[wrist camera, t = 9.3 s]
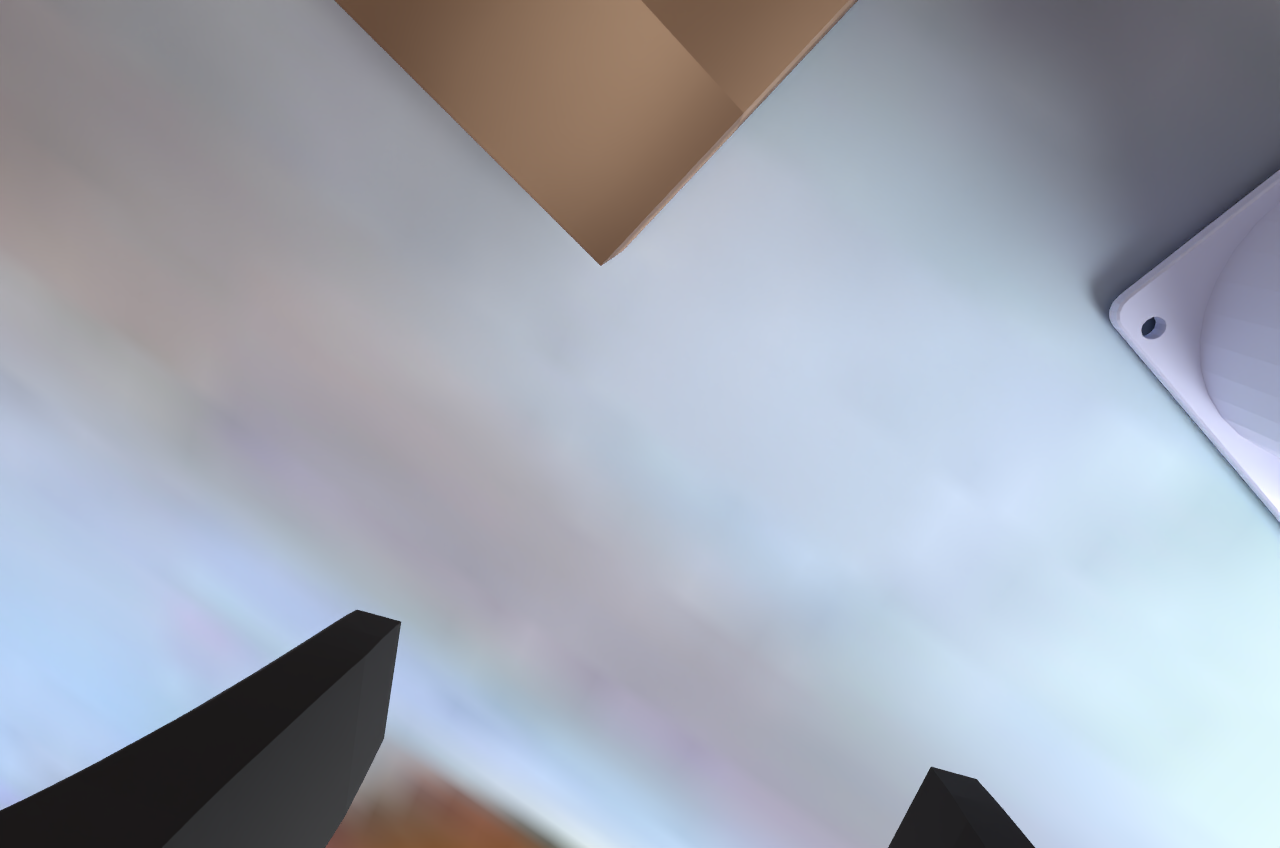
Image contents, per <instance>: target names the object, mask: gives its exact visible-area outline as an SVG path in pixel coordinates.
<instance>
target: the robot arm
mask: <svg viewBox="0 0 1280 848" xmlns="http://www.w3.org/2000/svg"><path fill="white" fill-rule="evenodd" d="M1152 317H1154V319H1155V321H1156V323H1155V328H1154V329H1153V330H1152V331H1151V333H1149V334H1147V335H1145V336H1143V335H1142V332H1141V329H1142V325H1143V324H1144V323H1145V322H1146V320H1148V319H1150V318H1152ZM1109 319H1110V321H1111V323H1112V325H1113V326H1114V327H1115V328H1116V330H1117V331H1118V332H1119V333H1120V334H1121V336H1122V337H1123V338H1124V339H1125V340H1126V341H1127V343H1128V344H1129V345H1130V346H1131V347H1132V349H1133V350H1134V351H1135V352H1136V353H1137V354H1138V356H1139V357H1140V358H1141V359H1142V360H1143V362H1144V363H1145V364H1146V365H1147V366H1148V367H1149V369H1150V370H1151V371H1152V372H1153V373H1154V374H1155V376H1156V377H1157V378H1158V379H1159V380H1160V382H1161V383H1162V384H1163V385H1164V386H1165V387H1166V389H1167V390H1168V391H1169V392H1170V393H1171V395H1172V396H1173V397H1174V398H1175V399H1176V400H1177V402H1178V403H1179V404H1180V405H1181V406H1182V408H1183V409H1184V410H1185V411H1186V412H1187V413H1188V415H1189V416H1190V417H1191V418H1192V419H1193V420H1194V422H1195V423H1196V424H1197V425H1198V426H1199V428H1200V429H1201V430H1202V431H1203V432H1204V433H1205V435H1206V436H1207V437H1208V438H1209V439H1210V441H1211V442H1212V443H1213V444H1214V445H1215V446H1216V448H1217V449H1218V450H1219V451H1220V452H1221V454H1222V455H1223V456H1224V457H1225V458H1226V459H1227V461H1228V462H1229V463H1230V464H1231V465H1232V466H1233V468H1234V469H1235V470H1236V471H1237V472H1238V474H1239V475H1240V476H1241V477H1242V478H1243V479H1244V481H1245V482H1246V483H1247V484H1248V485H1249V487H1250V488H1251V489H1252V490H1253V491H1254V492H1255V494H1256V495H1257V496H1258V497H1259V498H1260V499H1261V501H1262V502H1263V503H1264V504H1265V505H1266V507H1267V508H1268V509H1269V510H1270V511H1271V512H1272V514H1273V515H1274V516H1275V517H1276V518H1277V520H1278V521H1279V522H1280V170H1278V171H1277V172H1276V173H1275V174H1273V175H1272V176H1271V177H1269V178H1268V179H1267V180H1266V181H1264V182H1263V183H1262V184H1261V185H1259V186H1258V187H1257V188H1255V189H1254V190H1253V191H1252V192H1250V193H1249V194H1248V195H1247V196H1245V197H1244V198H1243V199H1241V200H1240V201H1239V202H1238V203H1236V204H1235V205H1234V206H1232V207H1231V208H1230V209H1229V210H1227V211H1226V212H1225V213H1224V214H1222V215H1221V216H1220V217H1218V218H1217V219H1216V220H1215V221H1213V222H1212V223H1211V224H1210V225H1208V226H1207V227H1206V228H1204V229H1203V230H1202V231H1201V232H1199V233H1198V234H1197V235H1195V236H1194V237H1193V238H1192V239H1190V240H1189V241H1188V242H1187V243H1185V244H1184V245H1183V246H1181V247H1180V248H1179V249H1178V250H1176V251H1175V252H1174V253H1172V254H1171V255H1170V256H1169V257H1167V258H1166V259H1165V260H1164V261H1162V262H1161V263H1160V264H1158V265H1157V266H1156V267H1155V268H1153V269H1152V270H1151V271H1150V272H1148V273H1147V274H1146V275H1144V276H1143V277H1142V278H1141V279H1139V280H1138V281H1137V282H1135V283H1134V284H1133V285H1132V286H1130V287H1129V288H1128V289H1127V290H1125V291H1124V292H1123V293H1121V294H1120V295H1119V296H1118V297H1117V298H1116V299H1115V300H1114V301H1113V303H1112V305H1111V308H1110V310H1109ZM400 626H401V622H400V621H397V620H393V619H389V618H386V617H382V616H378V615H375V614H371V613H368V612H364V611H360V610H355V611H353V612H352V613H350V614H348V615H346V616H345V617H343V618H341V619H340V620H338V621H336V622H335V623H333V624H332V625H330V626H329V627H327V628H325V629H324V630H322V631H321V632H319V633H317V634H316V635H314V636H313V637H311V638H310V639H308V640H306V641H305V642H303V643H302V644H300V645H299V646H297V647H295V648H294V649H292V650H291V651H289V652H287V653H286V654H284V655H283V656H281V657H279V658H278V659H276V660H275V661H273V662H271V663H270V664H268V665H267V666H265V667H263V668H262V669H260V670H259V671H257V672H255V673H254V674H252V675H250V676H249V677H247V678H245V679H244V680H242V681H240V682H239V683H237V684H235V685H233V686H232V687H230V688H228V689H227V690H225V691H223V692H222V693H220V694H218V695H217V696H215V697H213V698H212V699H210V700H208V701H207V702H205V703H203V704H202V705H200V706H198V707H197V708H195V709H193V710H191V711H190V712H188V713H186V714H184V715H183V716H181V717H179V718H177V719H176V720H174V721H172V722H170V723H168V724H167V725H165V726H163V727H161V728H159V729H157V730H156V731H154V732H152V733H150V734H148V735H146V736H145V737H143V738H141V739H139V740H137V741H135V742H134V743H132V744H130V745H128V746H126V747H124V748H123V749H121V750H119V751H117V752H115V753H113V754H112V755H110V756H108V757H106V758H104V759H102V760H101V761H99V762H97V763H95V764H93V765H91V766H89V767H87V768H85V769H83V770H81V771H80V772H78V773H76V774H74V775H72V776H70V777H68V778H66V779H64V780H62V781H60V782H58V783H56V784H54V785H52V786H50V787H48V788H46V789H44V790H42V791H40V792H38V793H36V794H34V795H32V796H30V797H28V798H26V799H24V800H22V801H20V802H17V803H15V804H13V805H11V806H9V807H7V808H5V809H3V810H1V811H0V848H325V847H326V845H327V844H328V842H329V841H330V839H331V838H332V836H333V834H334V833H335V831H336V830H337V828H338V826H339V825H340V823H341V822H342V820H343V818H344V817H345V815H346V813H347V811H348V809H349V807H350V805H351V803H352V801H353V799H354V797H355V795H356V793H357V792H358V790H359V788H360V786H361V784H362V782H363V780H364V778H365V776H366V774H367V772H368V770H369V768H370V766H371V764H372V762H373V760H374V757H375V755H376V753H377V751H378V749H379V747H380V745H381V743H382V741H383V739H384V734H385V727H386V720H387V714H388V707H389V700H390V693H391V687H392V680H393V673H394V666H395V660H396V653H397V646H398V639H399V633H400ZM888 848H1035V847H1034V846H1033V845H1032V843H1031V842H1030V841H1029V840H1028V839H1027V837H1026V836H1025V835H1024V834H1023V833H1022V831H1021V830H1020V829H1019V828H1018V827H1017V825H1016V824H1015V823H1014V822H1013V820H1012V819H1011V818H1010V817H1009V816H1008V815H1007V813H1006V812H1005V811H1004V810H1003V809H1002V807H1001V806H1000V805H999V804H998V803H997V802H996V800H995V799H994V798H993V797H992V796H991V795H990V794H989V793H988V791H987V790H986V789H985V788H984V787H983V786H982V785H981V784H980V783H979V781H978V780H977V779H974V778H970V777H967V776H963V775H959V774H956V773H952V772H948V771H945V770H941V769H938V768H934V767H931V768H930V769H929V771H928V773H927V775H926V777H925V779H924V781H923V783H922V785H921V786H920V788H919V790H918V792H917V794H916V796H915V798H914V800H913V802H912V804H911V805H910V807H909V809H908V811H907V813H906V815H905V817H904V819H903V821H902V822H901V824H900V826H899V828H898V830H897V832H896V834H895V836H894V838H893V839H892V841H891V843H890V845H889V847H888Z"/></svg>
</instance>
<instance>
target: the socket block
mask: <svg viewBox="0 0 1280 848" xmlns="http://www.w3.org/2000/svg"><path fill="white" fill-rule="evenodd" d="M335 1H336V2H337V3H338V4H339V5H340V6H341V7H342V8H343V9H344V10H345V11H346V12H347V13H348V14H349V15H350V16H351V17H352V18H353V19H354V20H355V21H356V22H357V23H358V24H359V25H360V26H361V27H362V28H363V29H364V30H365V31H366V32H367V33H368V34H369V35H370V36H371V37H372V38H373V39H374V40H375V41H376V42H377V43H378V44H379V45H380V46H381V47H382V48H383V49H384V50H385V51H386V52H387V53H388V54H389V55H390V56H391V57H392V58H393V59H394V60H395V61H396V62H397V63H398V64H399V65H400V66H401V67H402V68H403V69H404V70H405V71H406V72H407V73H408V74H409V75H410V76H411V77H412V78H413V79H414V80H415V81H416V82H417V83H418V84H419V85H420V86H421V87H422V88H423V89H424V90H425V91H426V92H427V93H428V94H429V95H430V96H431V97H432V98H433V99H434V100H435V101H436V102H437V103H438V104H439V105H440V106H441V107H442V108H443V109H444V110H445V111H446V112H447V113H448V114H449V115H450V116H451V117H452V118H453V119H454V120H455V121H456V122H457V123H458V124H459V125H460V126H461V127H462V128H463V129H464V130H465V131H466V132H467V133H468V134H469V135H470V136H471V137H472V138H473V139H474V140H475V141H476V142H477V143H478V144H479V145H480V146H481V147H482V148H483V149H484V150H485V151H486V152H487V153H488V154H489V155H490V156H491V157H492V158H493V159H494V160H495V161H496V162H497V163H498V164H499V165H500V166H501V167H502V168H503V169H504V170H505V171H506V172H507V173H508V174H509V175H510V176H511V177H512V178H513V179H514V180H515V181H516V182H517V183H518V184H519V185H520V186H521V187H522V188H523V189H524V190H525V191H526V192H527V193H528V194H529V195H530V196H531V197H532V198H533V199H534V200H535V201H536V202H537V203H538V204H539V205H540V206H541V207H542V208H543V209H544V210H545V211H546V212H547V213H548V214H549V215H550V216H551V217H552V218H553V219H554V220H555V221H556V222H557V223H558V224H559V225H560V226H561V227H562V228H563V229H564V230H565V231H566V232H567V233H568V234H569V235H570V236H571V237H572V238H573V239H574V240H575V241H576V242H577V243H578V244H579V245H580V246H581V247H582V248H583V249H584V250H585V251H586V252H587V253H588V254H589V255H590V256H591V257H592V258H593V259H594V260H595V261H596V262H597V263H598V264H599V265H600V266H601V265H603V264H604V263H606V262H607V261H609V260H610V259H612V258H613V257H614V256H616V255H617V254H619V253H620V252H622V251H623V250H624V249H625V248H626V247H627V246H628V245H629V244H630V242H631V241H632V240H633V239H634V238H635V237H636V236H637V235H638V234H639V233H640V232H641V231H642V230H643V229H644V228H645V226H646V225H647V224H648V223H649V222H650V221H651V220H652V219H653V218H654V217H655V216H656V215H657V214H658V213H659V212H660V211H661V209H662V208H663V207H664V206H665V205H666V204H667V203H668V202H669V201H670V200H671V199H672V198H673V197H674V196H675V195H676V193H677V192H678V191H679V190H680V189H681V188H682V187H683V186H684V185H685V184H686V183H687V182H688V181H689V180H690V179H691V177H692V176H693V175H694V174H695V173H696V172H697V171H698V170H699V169H700V168H701V167H702V166H703V165H704V164H705V163H706V162H707V160H708V159H709V158H710V157H711V156H712V155H713V154H714V153H715V152H716V151H717V150H718V149H719V148H720V147H721V146H722V144H723V143H724V142H725V141H726V140H727V139H728V138H729V137H730V136H731V135H732V134H733V133H734V132H735V131H736V130H737V128H738V127H739V126H740V125H741V124H742V123H743V122H744V121H745V120H746V119H747V118H748V117H749V116H750V115H751V114H752V112H753V111H754V110H755V109H756V108H757V107H758V106H759V105H760V104H761V103H762V102H763V101H764V100H765V99H766V98H767V97H768V95H769V94H770V93H771V92H772V91H773V90H774V89H775V88H776V87H777V86H778V85H779V84H780V83H781V82H782V81H783V79H784V78H785V77H786V76H787V75H788V74H789V73H790V72H791V71H792V70H793V69H794V68H795V67H796V66H797V65H798V63H799V62H800V61H801V60H802V59H803V58H804V57H805V56H806V55H807V54H808V53H809V52H810V51H811V50H812V49H813V48H814V46H815V45H816V44H817V43H818V42H819V41H820V40H821V39H822V38H823V37H824V36H825V35H826V34H827V33H828V32H829V30H830V29H831V28H832V27H833V26H834V25H835V24H836V23H837V22H838V21H839V20H840V19H841V18H842V17H843V16H844V14H845V13H846V12H847V11H848V10H849V9H850V8H851V7H852V6H853V5H854V4H855V3H856V2H857V1H858V0H335Z"/></svg>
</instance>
